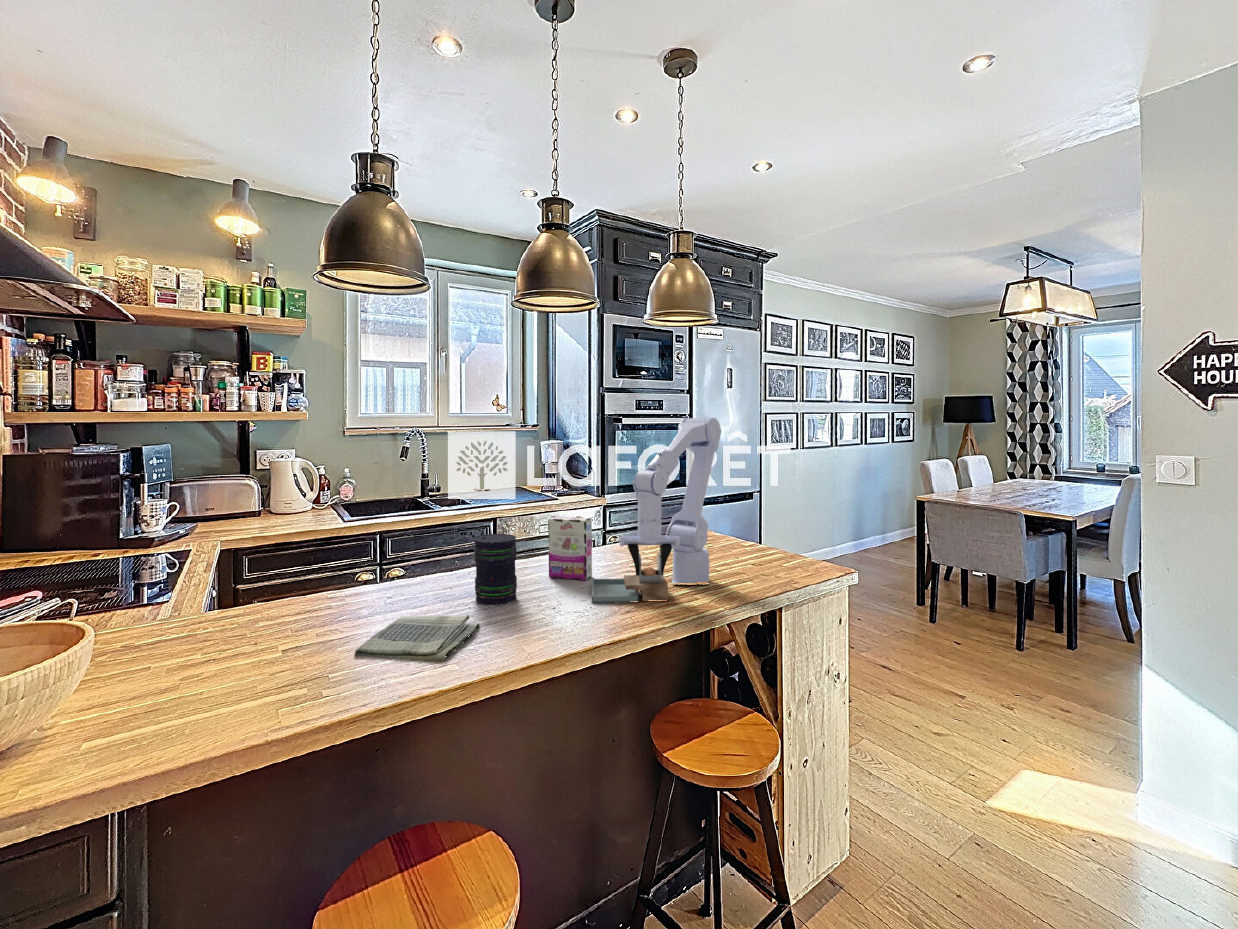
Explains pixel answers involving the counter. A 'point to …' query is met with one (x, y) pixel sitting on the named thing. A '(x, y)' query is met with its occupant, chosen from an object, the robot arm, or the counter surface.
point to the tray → (612, 591)
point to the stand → (647, 588)
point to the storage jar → (495, 569)
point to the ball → (649, 571)
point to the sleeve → (650, 578)
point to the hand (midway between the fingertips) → (649, 574)
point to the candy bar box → (570, 548)
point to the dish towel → (419, 638)
